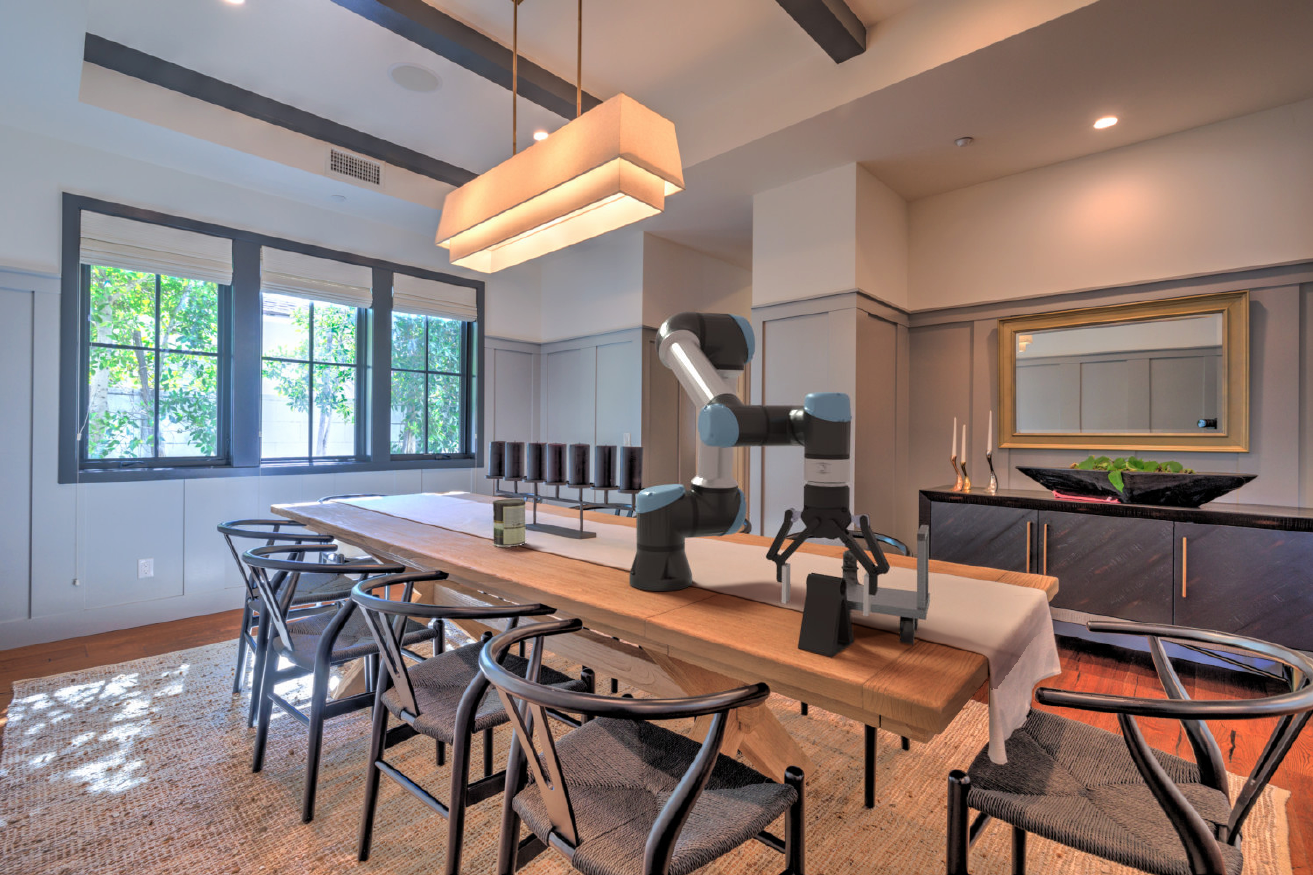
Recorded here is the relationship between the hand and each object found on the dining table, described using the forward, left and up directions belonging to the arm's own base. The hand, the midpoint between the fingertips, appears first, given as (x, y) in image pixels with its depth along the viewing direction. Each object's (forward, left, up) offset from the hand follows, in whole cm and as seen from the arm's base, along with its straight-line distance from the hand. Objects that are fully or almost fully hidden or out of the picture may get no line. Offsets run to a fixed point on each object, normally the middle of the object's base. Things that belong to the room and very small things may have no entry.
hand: (825, 607), depth 100 cm
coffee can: (-110, +42, -7) cm, 118 cm away
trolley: (+6, +11, -6) cm, 15 cm away
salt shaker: (-1, +27, -7) cm, 28 cm away
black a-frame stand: (0, 0, -7) cm, 7 cm away
